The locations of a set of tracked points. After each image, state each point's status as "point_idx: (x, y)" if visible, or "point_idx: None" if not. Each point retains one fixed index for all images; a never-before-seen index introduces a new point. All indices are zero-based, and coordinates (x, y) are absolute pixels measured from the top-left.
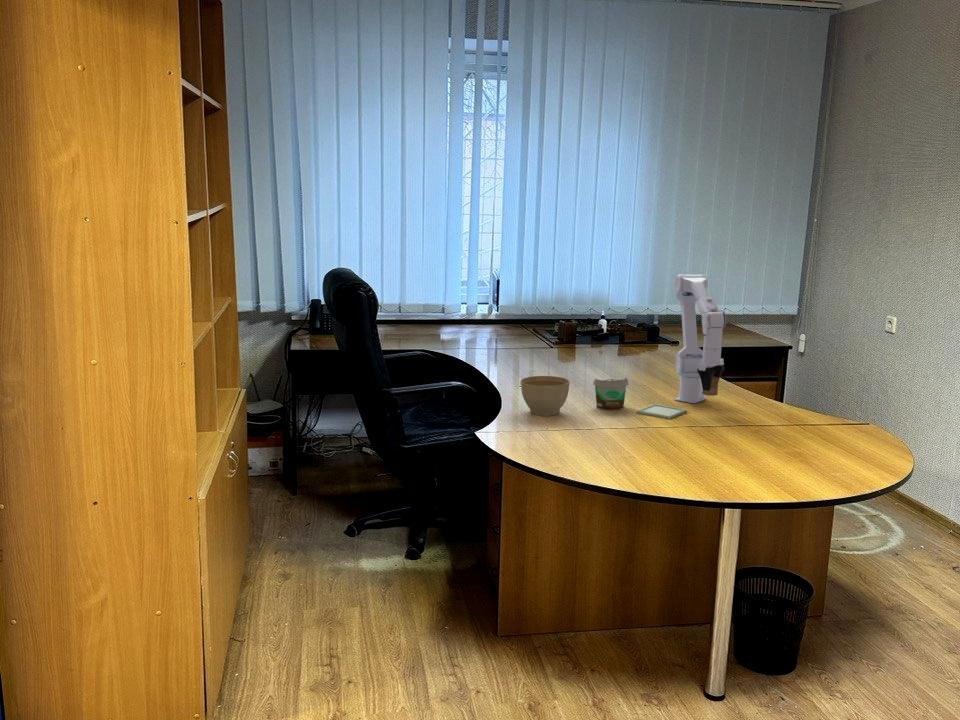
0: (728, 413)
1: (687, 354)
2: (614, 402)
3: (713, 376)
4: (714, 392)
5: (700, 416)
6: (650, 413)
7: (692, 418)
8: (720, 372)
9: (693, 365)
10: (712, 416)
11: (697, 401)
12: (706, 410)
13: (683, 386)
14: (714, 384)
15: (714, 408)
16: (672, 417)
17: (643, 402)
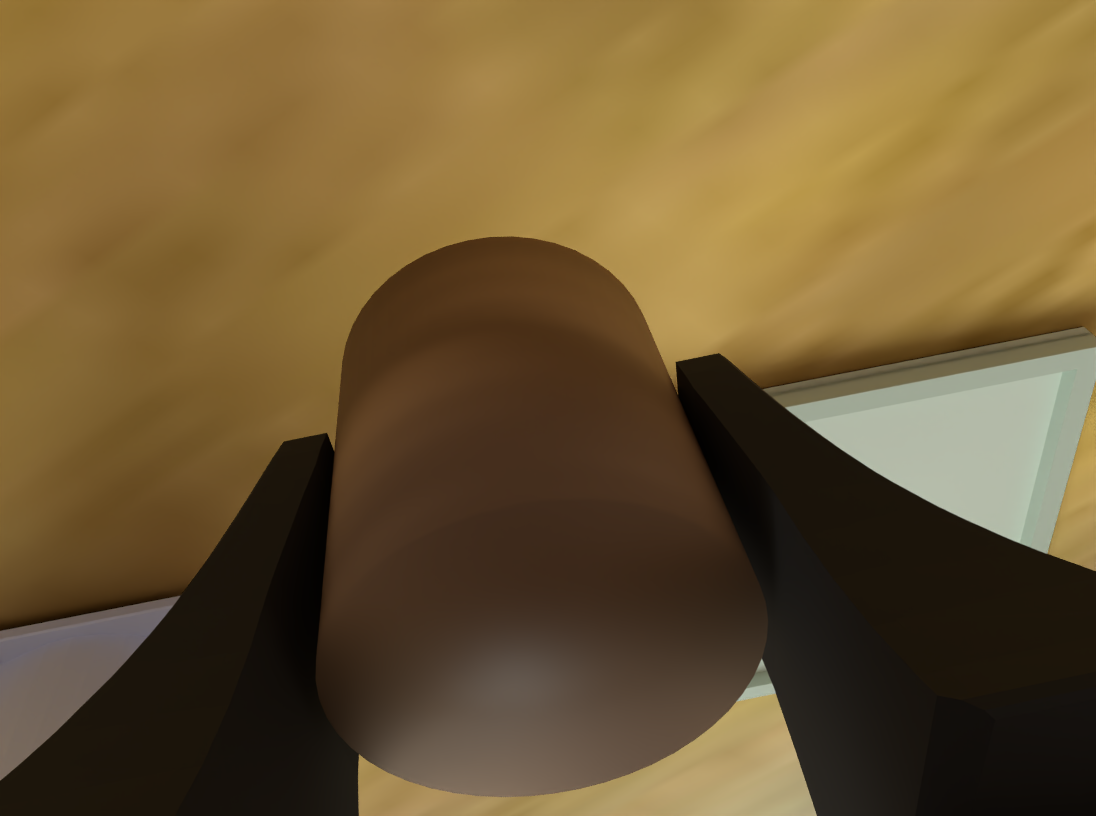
0: (165, 8)
1: None
2: None
3: (355, 712)
4: (564, 278)
5: (704, 178)
6: (1047, 529)
7: (883, 178)
8: (197, 742)
9: None
10: (569, 62)
11: (135, 612)
12: (337, 332)
13: None
14: (617, 398)
15: (135, 338)
16: (1007, 343)
17: (606, 792)
